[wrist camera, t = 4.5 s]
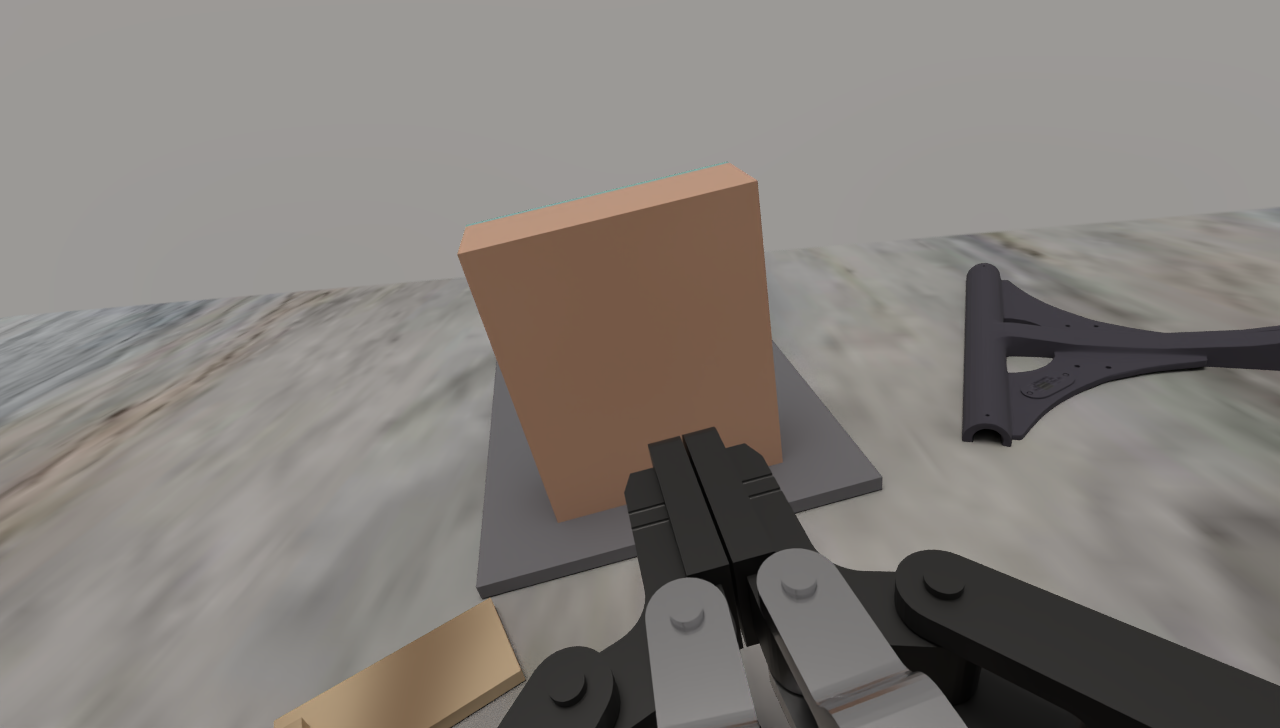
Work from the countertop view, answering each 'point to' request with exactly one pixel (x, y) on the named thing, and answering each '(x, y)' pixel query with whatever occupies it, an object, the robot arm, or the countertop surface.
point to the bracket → (1072, 354)
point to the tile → (629, 326)
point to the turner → (422, 680)
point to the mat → (544, 549)
